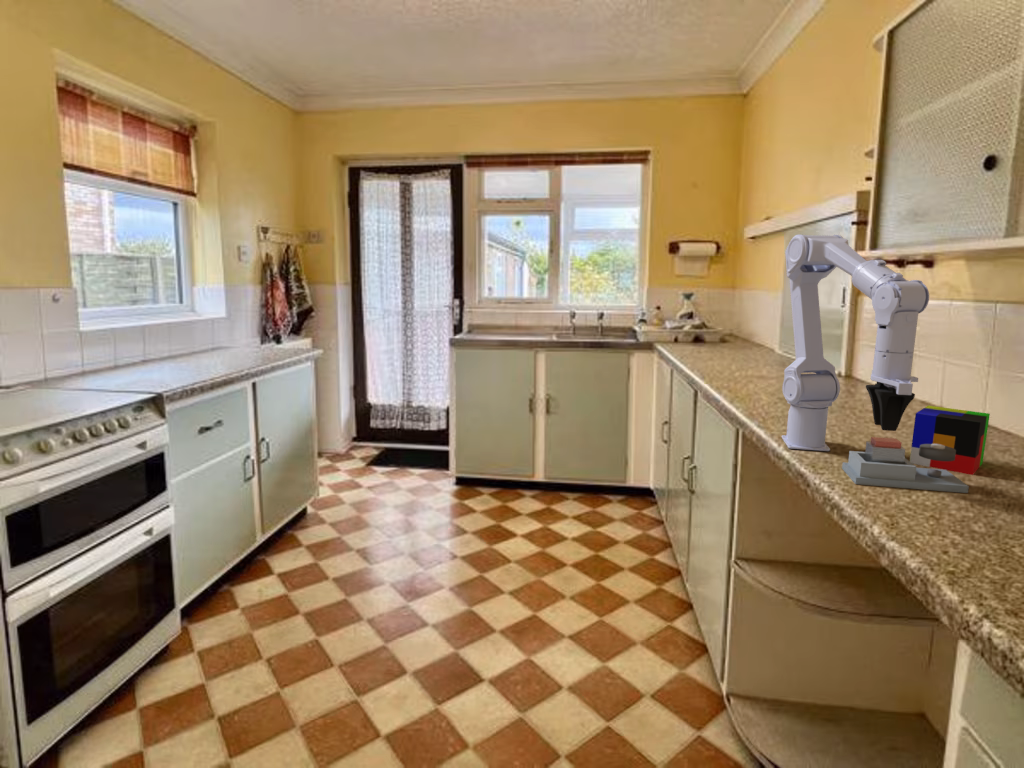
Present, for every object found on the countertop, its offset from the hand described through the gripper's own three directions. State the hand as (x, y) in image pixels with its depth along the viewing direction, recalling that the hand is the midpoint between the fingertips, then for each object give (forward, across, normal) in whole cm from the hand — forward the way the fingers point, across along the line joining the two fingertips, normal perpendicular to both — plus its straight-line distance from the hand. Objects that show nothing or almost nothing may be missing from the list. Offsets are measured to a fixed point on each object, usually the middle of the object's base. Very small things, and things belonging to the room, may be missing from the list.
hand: (885, 427), depth 107 cm
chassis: (+9, 0, -4) cm, 10 cm away
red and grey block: (+8, 0, 0) cm, 8 cm away
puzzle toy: (+10, +14, -16) cm, 23 cm away
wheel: (+5, 0, -9) cm, 10 cm away
